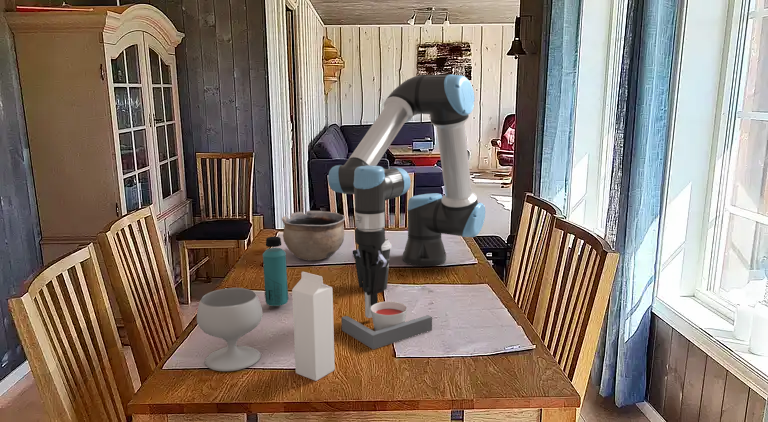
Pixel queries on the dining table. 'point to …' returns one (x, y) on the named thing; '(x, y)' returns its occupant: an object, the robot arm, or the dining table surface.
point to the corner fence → (385, 331)
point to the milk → (313, 327)
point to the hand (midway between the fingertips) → (371, 316)
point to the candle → (388, 314)
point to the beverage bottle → (275, 273)
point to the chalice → (230, 326)
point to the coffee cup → (386, 257)
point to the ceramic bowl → (313, 234)
